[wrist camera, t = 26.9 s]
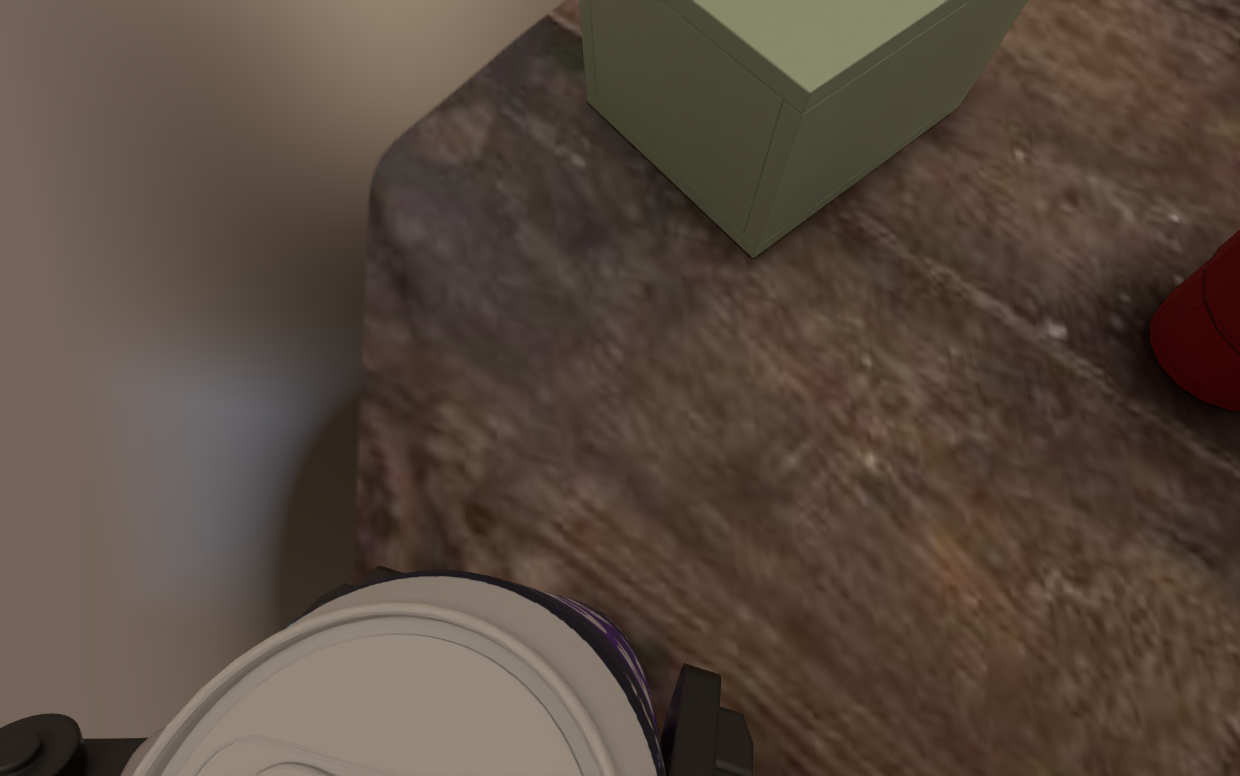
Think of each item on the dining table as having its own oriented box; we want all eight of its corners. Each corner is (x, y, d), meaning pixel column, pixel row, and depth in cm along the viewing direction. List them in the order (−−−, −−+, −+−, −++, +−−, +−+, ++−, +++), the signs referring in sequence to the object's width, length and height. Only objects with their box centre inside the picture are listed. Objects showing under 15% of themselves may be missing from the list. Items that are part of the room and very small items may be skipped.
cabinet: (785, -19, 34) (838, -235, 25) (959, 107, 30) (1091, -97, 22) (587, 102, 31) (569, -98, 22) (752, 259, 27) (809, 92, 18)
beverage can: (605, 869, 15) (507, 1669, 4) (411, 771, 16) (-157, 1160, 4) (679, 643, 17) (767, 697, 5) (502, 567, 17) (266, 480, 6)
